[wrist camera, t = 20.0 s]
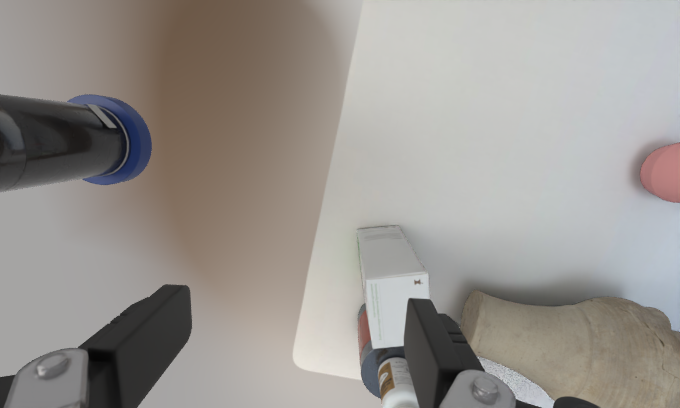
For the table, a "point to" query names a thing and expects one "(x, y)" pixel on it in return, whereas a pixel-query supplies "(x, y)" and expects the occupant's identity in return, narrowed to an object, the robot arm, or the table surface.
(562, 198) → the table surface
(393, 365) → the pill bottle
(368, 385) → the tin can
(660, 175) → the pink bud vase
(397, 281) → the cosmetic box
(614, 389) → the vase
